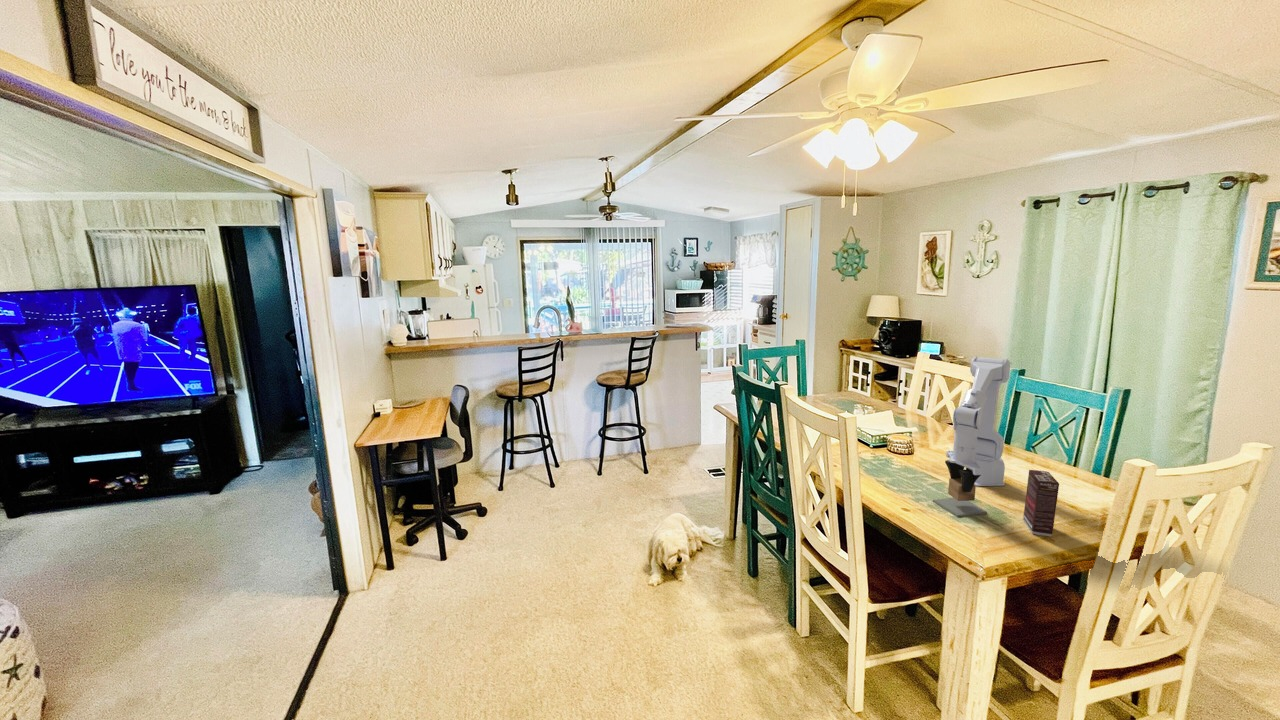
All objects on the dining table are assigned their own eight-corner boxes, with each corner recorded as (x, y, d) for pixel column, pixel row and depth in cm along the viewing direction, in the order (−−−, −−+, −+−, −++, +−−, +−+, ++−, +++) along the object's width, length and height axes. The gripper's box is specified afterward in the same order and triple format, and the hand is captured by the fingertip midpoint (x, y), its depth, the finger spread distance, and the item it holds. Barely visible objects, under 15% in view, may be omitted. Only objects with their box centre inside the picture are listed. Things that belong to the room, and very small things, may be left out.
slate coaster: (961, 498, 159) (961, 496, 159) (986, 513, 149) (987, 511, 149) (932, 501, 157) (933, 499, 157) (957, 516, 148) (957, 514, 148)
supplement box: (1053, 537, 135) (1060, 483, 132) (1031, 534, 137) (1038, 481, 134) (1042, 522, 143) (1049, 471, 140) (1022, 519, 145) (1028, 468, 142)
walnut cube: (964, 493, 155) (965, 478, 154) (974, 500, 150) (975, 485, 149) (948, 493, 155) (949, 478, 154) (957, 500, 150) (959, 485, 149)
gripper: (937, 437, 157) (934, 477, 159) (966, 454, 142) (962, 498, 145) (960, 437, 156) (956, 477, 159) (991, 454, 142) (986, 498, 145)
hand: (960, 487), depth 152 cm, fingers closed on walnut cube, 5 cm apart
